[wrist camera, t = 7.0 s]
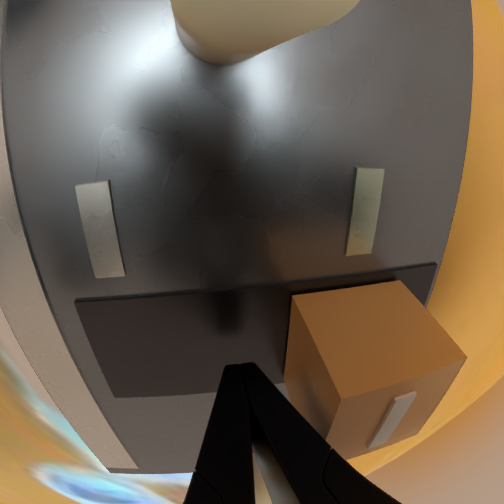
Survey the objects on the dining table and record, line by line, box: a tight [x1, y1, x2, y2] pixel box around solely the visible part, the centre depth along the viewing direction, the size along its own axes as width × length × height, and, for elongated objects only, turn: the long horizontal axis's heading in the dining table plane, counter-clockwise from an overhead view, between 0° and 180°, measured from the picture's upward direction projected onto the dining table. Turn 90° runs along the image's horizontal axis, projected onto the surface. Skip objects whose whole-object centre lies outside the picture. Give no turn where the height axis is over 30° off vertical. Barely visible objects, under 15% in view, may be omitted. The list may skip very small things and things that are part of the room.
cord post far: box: [253, 453, 271, 504], centre depth 12 cm, size 2×2×4 cm
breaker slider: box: [284, 280, 467, 460], centre depth 8 cm, size 4×4×4 cm
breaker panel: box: [0, 0, 473, 474], centre depth 10 cm, size 22×14×3 cm, turn 0°
